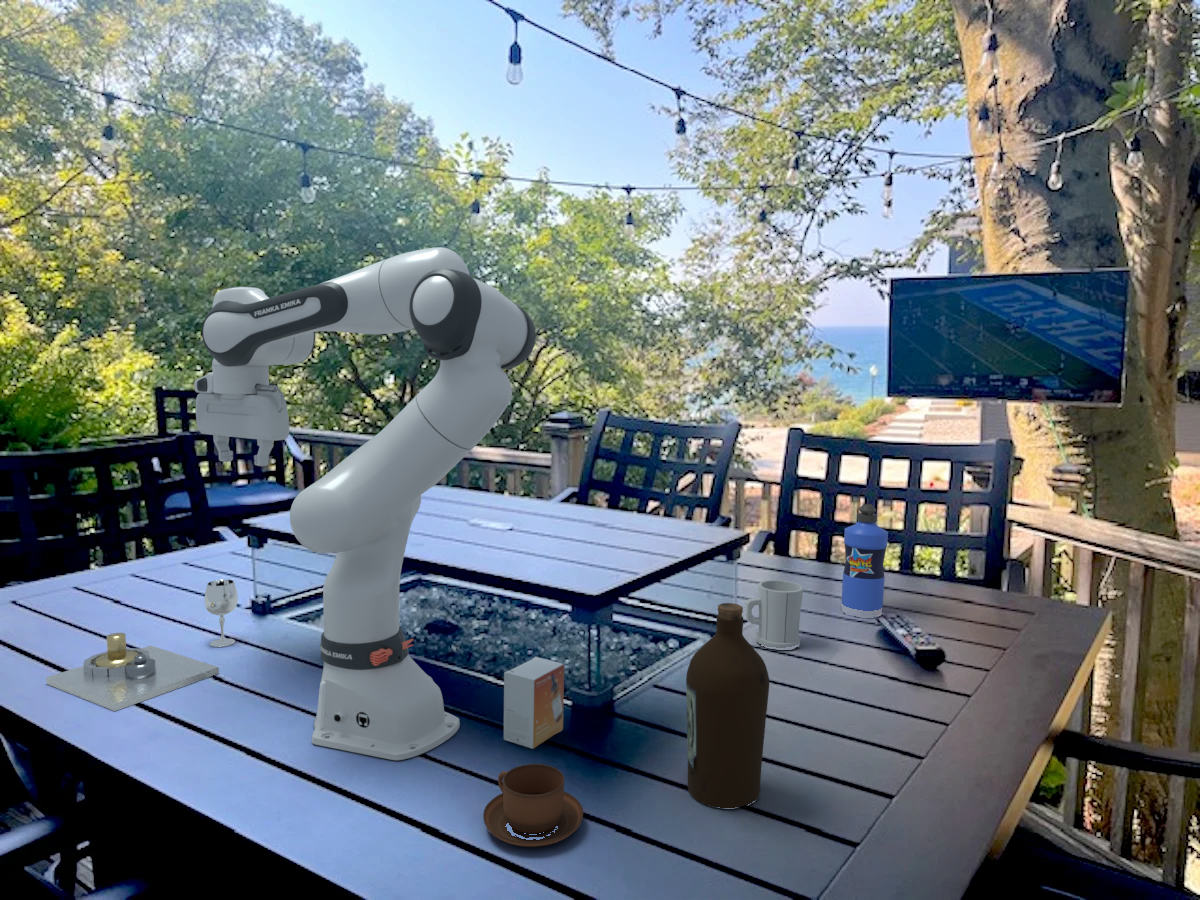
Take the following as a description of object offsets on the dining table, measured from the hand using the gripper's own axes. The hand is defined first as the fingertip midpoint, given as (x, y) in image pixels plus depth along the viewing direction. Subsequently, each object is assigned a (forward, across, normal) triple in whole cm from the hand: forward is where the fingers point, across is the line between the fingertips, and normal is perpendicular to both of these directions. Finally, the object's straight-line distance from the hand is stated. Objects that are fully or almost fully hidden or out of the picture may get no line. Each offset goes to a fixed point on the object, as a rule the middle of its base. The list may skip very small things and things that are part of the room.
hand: (243, 463), depth 139 cm
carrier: (+37, +13, +13) cm, 41 cm away
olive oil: (+37, -87, -6) cm, 95 cm away
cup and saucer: (+38, -70, +13) cm, 81 cm away
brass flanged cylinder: (+36, +18, +13) cm, 42 cm away
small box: (+37, -57, -6) cm, 68 cm away
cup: (+37, -76, -64) cm, 106 cm away
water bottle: (+37, -86, -96) cm, 134 cm away
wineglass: (+37, +16, -6) cm, 41 cm away
